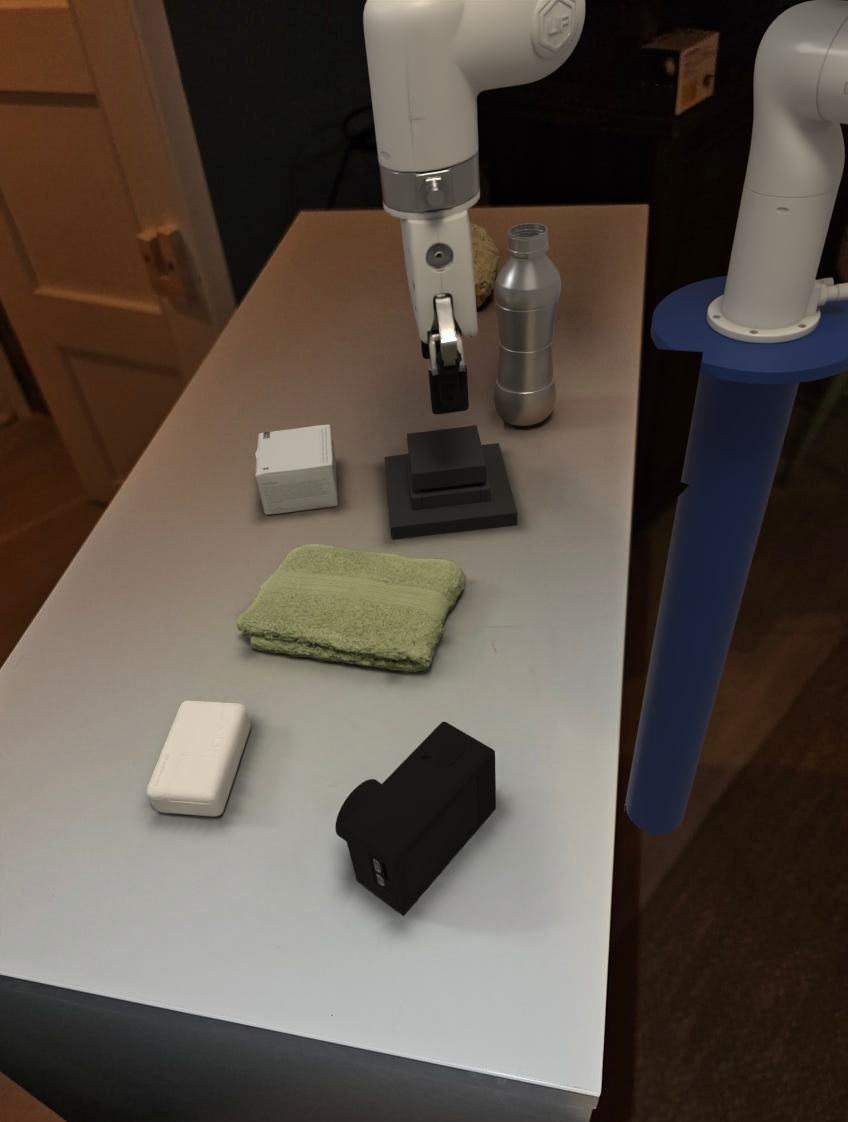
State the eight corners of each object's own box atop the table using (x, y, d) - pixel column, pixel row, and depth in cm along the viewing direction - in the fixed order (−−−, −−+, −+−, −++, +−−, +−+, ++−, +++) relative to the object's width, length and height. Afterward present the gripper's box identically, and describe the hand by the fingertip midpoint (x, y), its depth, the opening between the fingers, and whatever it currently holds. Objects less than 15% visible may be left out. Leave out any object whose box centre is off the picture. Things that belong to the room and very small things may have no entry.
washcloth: (293, 554, 83) (287, 528, 81) (471, 581, 77) (470, 554, 75) (234, 650, 75) (225, 624, 72) (427, 688, 69) (425, 661, 67)
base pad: (499, 454, 91) (498, 429, 88) (517, 524, 82) (517, 499, 80) (385, 468, 91) (382, 444, 89) (392, 539, 83) (389, 514, 81)
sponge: (499, 320, 114) (511, 230, 124) (486, 269, 108) (499, 178, 118) (406, 337, 119) (424, 249, 129) (388, 289, 113) (409, 200, 123)
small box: (339, 507, 87) (332, 464, 84) (263, 516, 88) (253, 475, 84) (337, 463, 93) (330, 422, 89) (266, 472, 93) (256, 432, 90)
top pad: (477, 458, 88) (476, 424, 85) (487, 499, 83) (486, 464, 80) (409, 467, 88) (406, 433, 85) (414, 508, 83) (411, 473, 81)
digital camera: (436, 770, 64) (430, 709, 59) (496, 807, 61) (495, 747, 56) (342, 870, 59) (326, 814, 54) (403, 916, 56) (392, 861, 51)
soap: (190, 720, 70) (180, 696, 68) (254, 724, 69) (246, 699, 67) (153, 815, 64) (141, 792, 62) (223, 821, 63) (213, 797, 60)
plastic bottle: (493, 403, 98) (491, 220, 84) (554, 400, 97) (562, 214, 82) (493, 434, 93) (490, 246, 79) (556, 432, 92) (565, 241, 78)
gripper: (495, 216, 60) (500, 429, 72) (465, 138, 72) (473, 331, 84) (387, 232, 60) (410, 441, 72) (376, 152, 72) (397, 342, 84)
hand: (444, 382), depth 78 cm, fingers open, 9 cm apart
